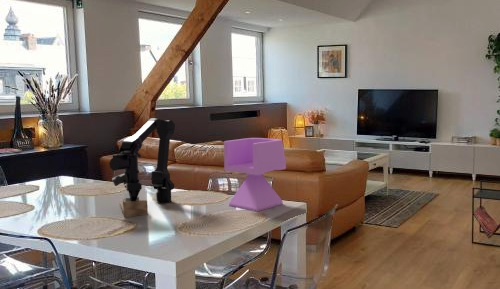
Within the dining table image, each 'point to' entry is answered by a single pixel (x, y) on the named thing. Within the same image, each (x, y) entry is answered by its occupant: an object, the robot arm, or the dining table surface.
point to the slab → (128, 197)
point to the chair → (254, 170)
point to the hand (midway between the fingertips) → (132, 202)
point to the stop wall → (135, 208)
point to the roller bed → (122, 205)
